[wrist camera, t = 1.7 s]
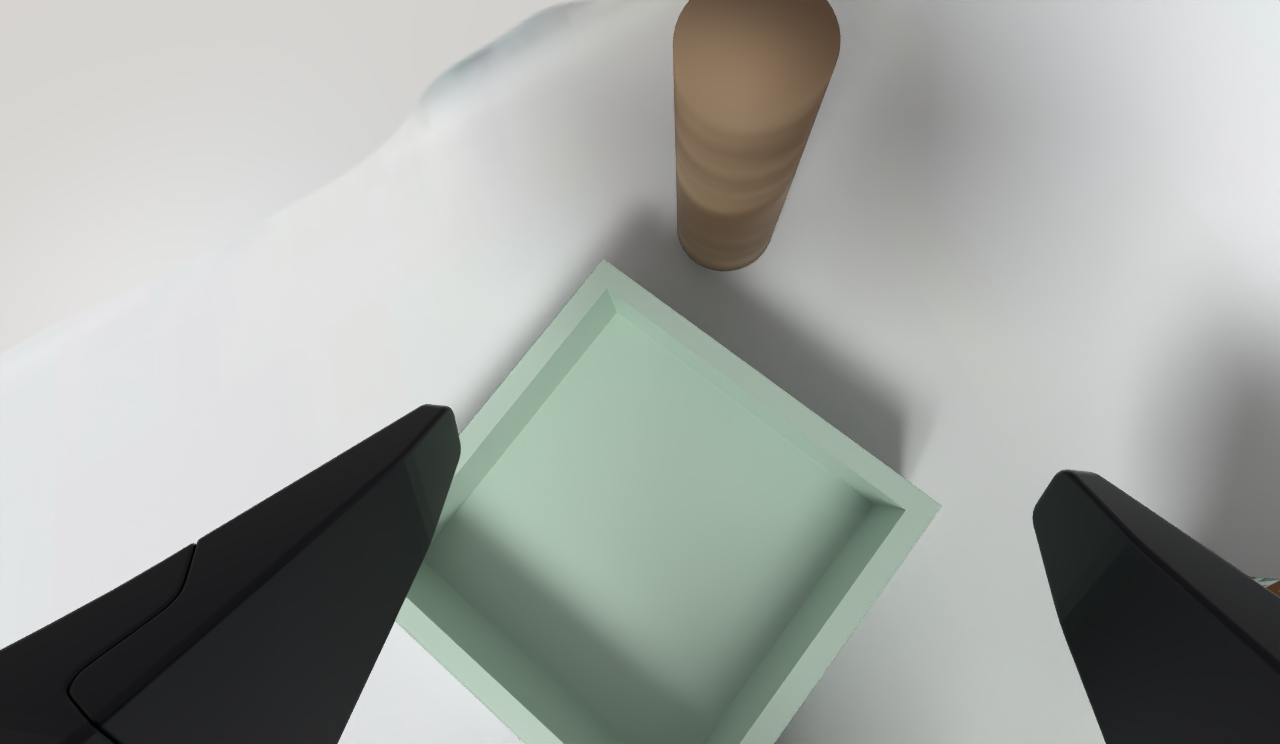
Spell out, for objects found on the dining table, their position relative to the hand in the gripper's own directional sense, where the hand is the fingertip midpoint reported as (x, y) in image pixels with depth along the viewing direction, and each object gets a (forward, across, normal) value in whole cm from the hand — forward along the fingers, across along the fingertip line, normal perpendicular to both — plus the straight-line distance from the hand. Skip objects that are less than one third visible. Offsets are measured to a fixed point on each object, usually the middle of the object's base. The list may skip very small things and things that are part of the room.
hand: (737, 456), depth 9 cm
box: (+8, +2, +12) cm, 14 cm away
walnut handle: (+17, 0, +3) cm, 17 cm away
